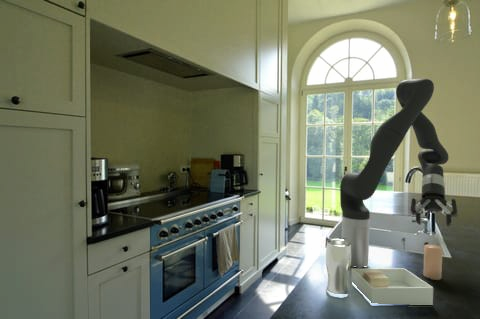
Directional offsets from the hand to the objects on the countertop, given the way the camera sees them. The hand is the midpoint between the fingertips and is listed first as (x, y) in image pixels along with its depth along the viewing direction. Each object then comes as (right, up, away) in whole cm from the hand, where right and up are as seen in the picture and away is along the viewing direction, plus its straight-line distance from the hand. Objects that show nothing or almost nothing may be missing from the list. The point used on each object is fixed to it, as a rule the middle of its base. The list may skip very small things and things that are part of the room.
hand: (433, 224), depth 106 cm
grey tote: (-26, -16, -20) cm, 36 cm away
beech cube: (-30, -15, -20) cm, 39 cm away
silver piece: (-41, -16, -20) cm, 48 cm away
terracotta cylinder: (-5, -16, -7) cm, 18 cm away
